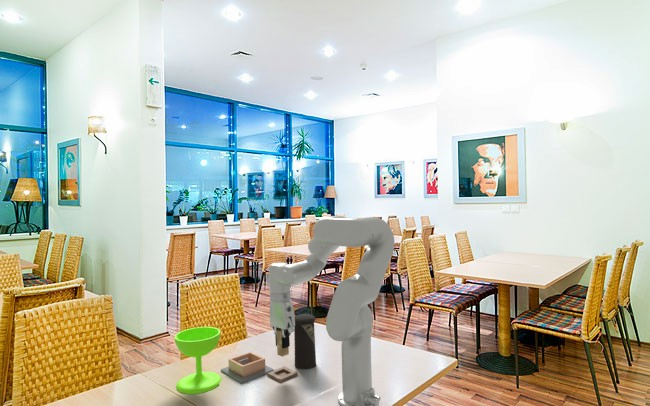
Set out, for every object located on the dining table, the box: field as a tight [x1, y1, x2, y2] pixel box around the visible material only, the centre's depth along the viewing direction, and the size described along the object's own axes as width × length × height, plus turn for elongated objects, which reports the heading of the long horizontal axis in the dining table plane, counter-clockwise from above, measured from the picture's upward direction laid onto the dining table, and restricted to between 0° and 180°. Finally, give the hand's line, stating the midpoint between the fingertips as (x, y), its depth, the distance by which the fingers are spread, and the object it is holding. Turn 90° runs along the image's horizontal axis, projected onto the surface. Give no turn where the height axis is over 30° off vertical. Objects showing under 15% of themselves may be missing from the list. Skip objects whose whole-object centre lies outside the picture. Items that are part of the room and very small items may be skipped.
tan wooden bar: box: [276, 329, 290, 357], centre depth 149 cm, size 3×3×9 cm
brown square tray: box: [266, 365, 298, 383], centre depth 149 cm, size 8×8×2 cm
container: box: [293, 313, 317, 370], centre depth 158 cm, size 9×9×20 cm
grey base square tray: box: [220, 351, 275, 384], centre depth 154 cm, size 15×14×5 cm
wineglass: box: [174, 326, 222, 395], centre depth 146 cm, size 16×16×18 cm
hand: (282, 345), depth 149 cm, fingers closed on tan wooden bar, 3 cm apart
